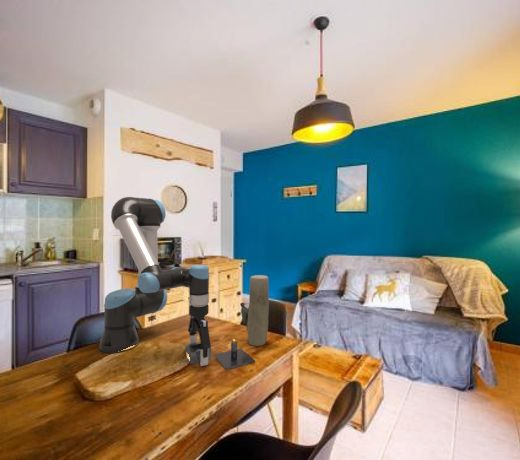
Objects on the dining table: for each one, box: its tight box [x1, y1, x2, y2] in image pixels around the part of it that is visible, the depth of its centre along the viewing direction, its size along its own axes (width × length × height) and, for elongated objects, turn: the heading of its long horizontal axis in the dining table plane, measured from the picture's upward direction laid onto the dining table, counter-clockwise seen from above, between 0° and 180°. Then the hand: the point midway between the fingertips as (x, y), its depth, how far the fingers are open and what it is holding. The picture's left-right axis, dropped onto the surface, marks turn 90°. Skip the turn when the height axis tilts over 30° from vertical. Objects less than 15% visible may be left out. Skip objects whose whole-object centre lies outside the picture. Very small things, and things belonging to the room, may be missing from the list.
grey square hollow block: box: [184, 341, 212, 365], centre depth 111 cm, size 8×8×4 cm
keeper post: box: [213, 337, 256, 371], centre depth 111 cm, size 12×12×8 cm
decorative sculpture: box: [239, 274, 270, 347], centre depth 128 cm, size 14×10×30 cm
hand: (198, 357), depth 111 cm, fingers open, 13 cm apart
